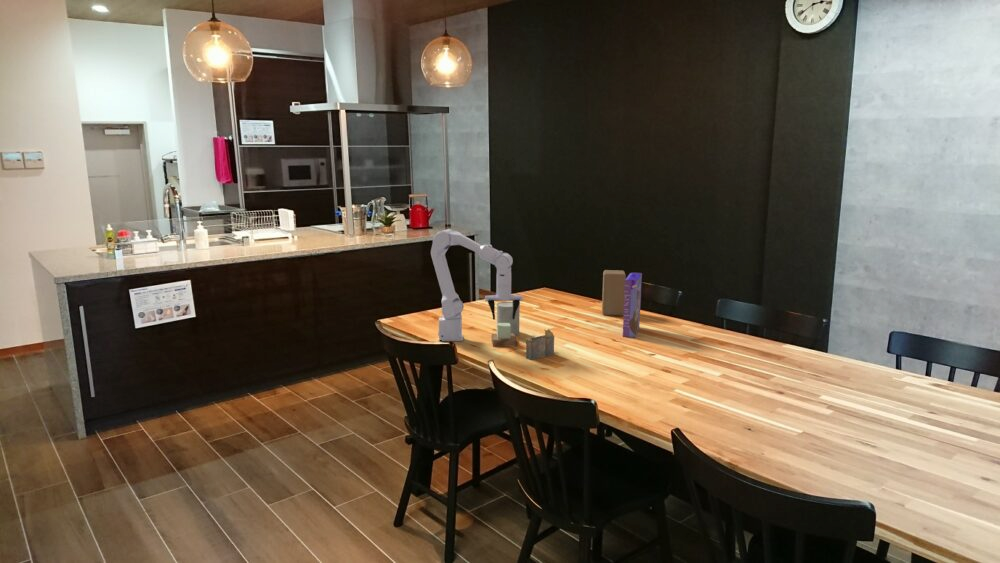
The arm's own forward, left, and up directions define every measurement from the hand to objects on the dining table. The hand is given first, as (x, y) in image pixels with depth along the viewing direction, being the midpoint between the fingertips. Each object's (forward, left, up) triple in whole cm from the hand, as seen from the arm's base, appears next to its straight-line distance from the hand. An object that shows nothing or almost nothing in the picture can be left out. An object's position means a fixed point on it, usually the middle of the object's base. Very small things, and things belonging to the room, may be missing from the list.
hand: (503, 318), depth 247 cm
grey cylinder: (+3, +14, -10) cm, 17 cm away
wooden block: (+55, +45, -10) cm, 72 cm away
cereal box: (+55, +13, -10) cm, 57 cm away
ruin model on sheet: (+12, -18, -10) cm, 24 cm away
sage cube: (0, 0, -7) cm, 7 cm away
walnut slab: (0, 0, -10) cm, 10 cm away
